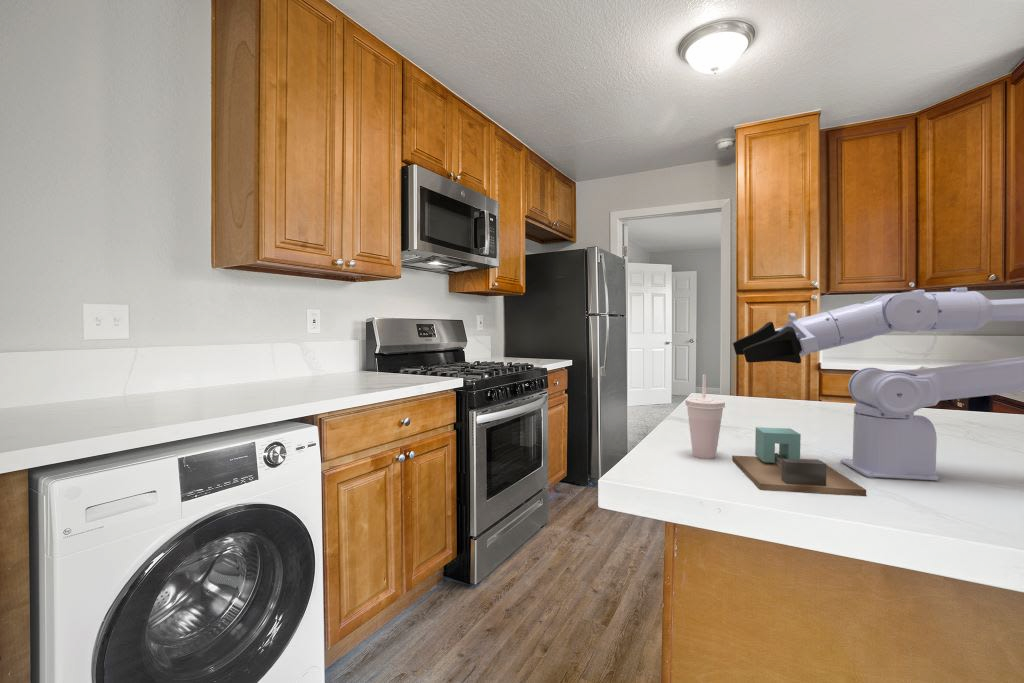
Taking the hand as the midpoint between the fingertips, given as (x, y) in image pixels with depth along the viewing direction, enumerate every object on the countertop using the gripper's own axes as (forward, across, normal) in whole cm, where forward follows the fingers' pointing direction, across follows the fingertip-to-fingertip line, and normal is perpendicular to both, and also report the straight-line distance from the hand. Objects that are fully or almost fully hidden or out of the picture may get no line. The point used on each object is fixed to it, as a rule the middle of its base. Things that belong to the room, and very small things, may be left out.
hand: (739, 352), depth 77 cm
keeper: (0, +3, +17) cm, 18 cm away
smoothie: (+10, 0, +16) cm, 19 cm away
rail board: (-1, +8, +18) cm, 20 cm away
